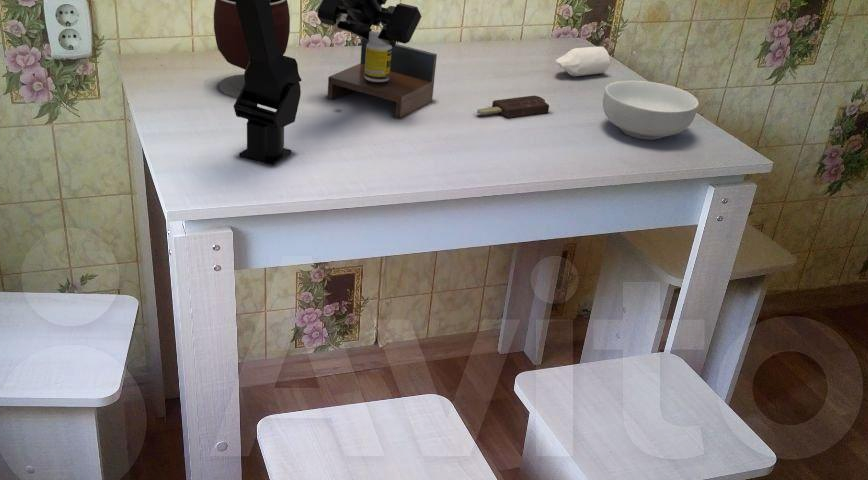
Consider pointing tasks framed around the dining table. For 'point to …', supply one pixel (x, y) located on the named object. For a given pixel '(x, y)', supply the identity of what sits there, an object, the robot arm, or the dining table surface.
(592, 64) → the white tapered cylinder
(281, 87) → the robot arm
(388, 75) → the supplement bottle
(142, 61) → the dining table surface
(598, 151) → the dining table surface
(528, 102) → the ice cream bar
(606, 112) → the cereal bowl
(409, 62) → the shelf
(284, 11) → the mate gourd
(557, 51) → the dining table surface
